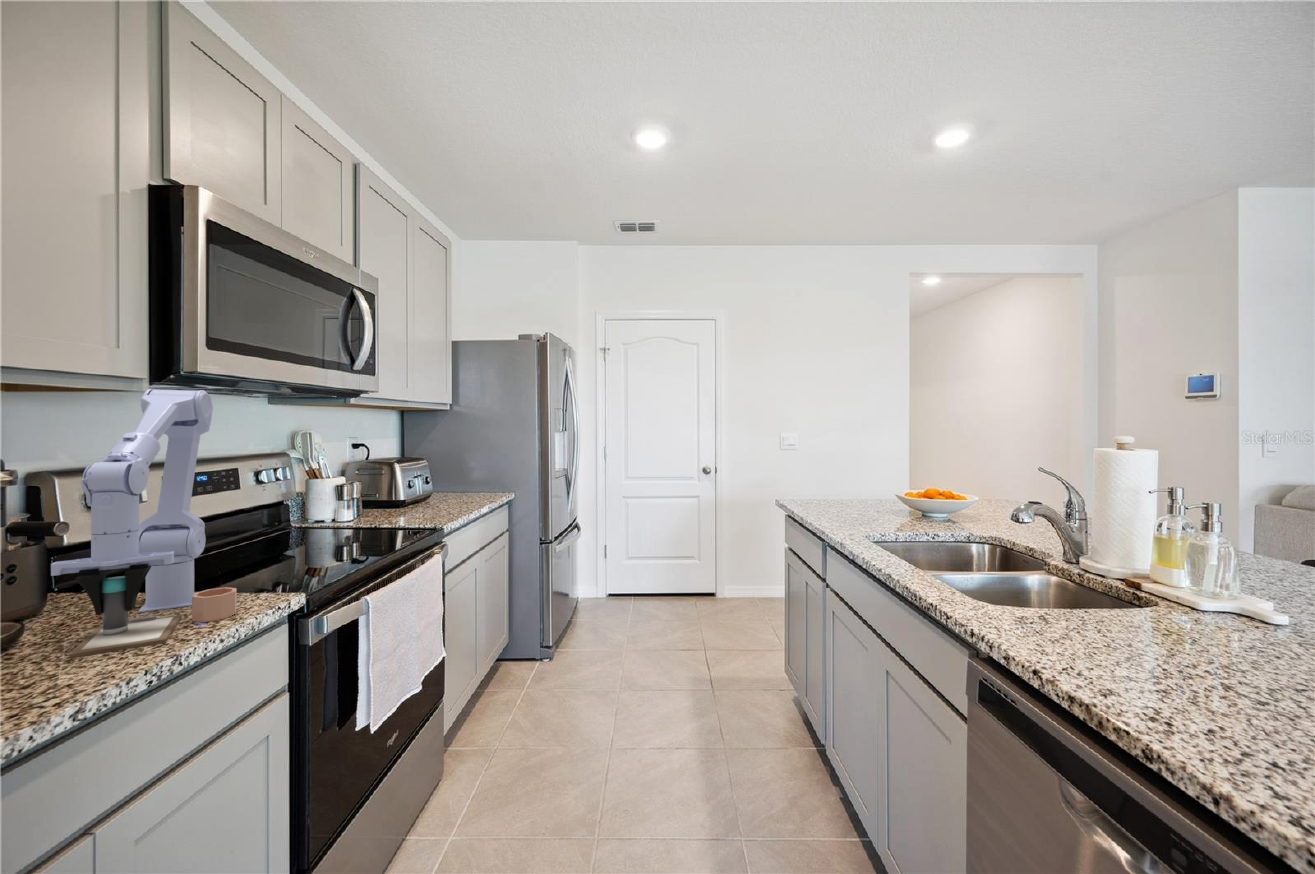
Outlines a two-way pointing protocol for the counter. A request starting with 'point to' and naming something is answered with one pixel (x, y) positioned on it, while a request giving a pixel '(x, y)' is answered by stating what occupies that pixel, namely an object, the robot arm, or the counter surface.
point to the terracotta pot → (214, 604)
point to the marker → (114, 605)
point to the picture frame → (129, 636)
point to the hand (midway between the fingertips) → (115, 611)
